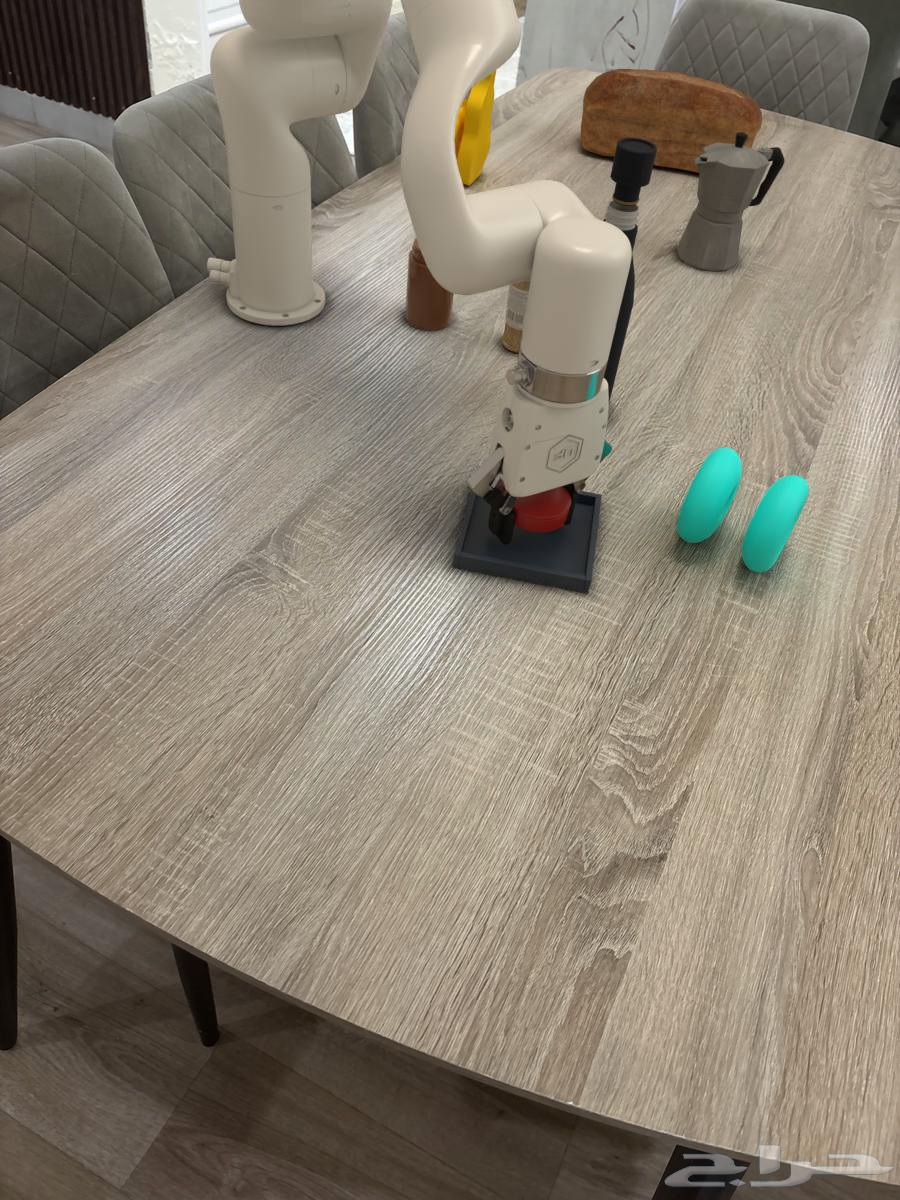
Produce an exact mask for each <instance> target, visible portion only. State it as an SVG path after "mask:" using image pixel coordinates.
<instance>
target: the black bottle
mask: <svg viewBox="0 0 900 1200" xmlns="http://www.w3.org/2000/svg"><path fill="white" fill-rule="evenodd" d="M656 152H657V147H656V146H655V145H654V144H653V143H652V142H649V141H647V140H644V139H639V138H623V139H620V140H619V141H618V142H617V146H616V151H615V156H614V157H613V161H612V167H611V170H610V179H611V181H613V182H614V183H615V185H614V186H615V187H614V191H613V194H612V197H611V198H612V200H610V201H609V202H608V206H606V210H605V211H606V213H605V214H604V219H603V220H602V221H605V222H608V223H610V224H612V225H614V226H616V227H617V228H619V229H620V230H621V231H622V232H623V233H624V234H625V235H626V236H627V238H628V239H629V242H630V244H631V249H632V257H631V263H630V269H629V273H628V277H627V281H626V285H625V290H624V294H623V298H622V302H621V306H620V311H619V315H618V319H617V324H616V328H615V332H614V336H613V340H612V344H611V349H610V353H609V357H608V362H607V366H606V370H605V374H604V379H605V380H606V381H607V383H608V394H609V403H610V402H611V398H612V394H613V390H614V386H615V381H616V378H617V373H618V370H619V369H618V368H619V365H620V361H621V356H622V353H623V348H624V344H625V340H626V336H627V332H628V327H629V324H630V319H631V315H632V311H633V308H634V303H635V302H634V301H635V284H636V274H635V263H634V254H633V252H634V248H635V244H636V239H637V235H638V230H639V227H638V225H637V223H638V220H639V218H638V217H639V216H640V211H639V209H640V207H639V205H638V204H639V202H640V195H641V194H640V193H641V189H642V188H644V187H646V186H648V185H649V184H650V181H651V177H652V174H653V173H652V172H653V170H654V169H653V168H654V166H655V165H654V161H655V156H656Z"/></svg>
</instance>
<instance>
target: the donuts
mask: <svg viewBox="0 0 900 1200" xmlns="http://www.w3.org/2000/svg"><path fill="white" fill-rule="evenodd" d="M742 463H743V462H742V460H741V457H740V455H739V454H738V453H737V452H736V450H735V449H732V448H731V447H727V446H723V447H718V448H716V449H714V450H712V451H711V452H710V453H709V454H708V455H707V457H706V458H705V460H704V461H703V462H702V463H701V465H700V467H699V469H698V471H697V472H696V473H695V476H694V477H693V479H692V481H691V484H690V486H689V488H688V490H687V492H686V494H685V497H684V499H683V502H682V504H681V507H680V510H679V513H678V517H677V520H676V521H677V522H676V531H677V533H678V536H679V537H680V538H681V539H682V540H683V541H685V542H687V543H691V544H697V543H701V542H703V541H705V540H707V539H708V538H710V537H711V536H712V535H713V534H714V533H715V532H716V531H717V530H718V528H719V527H720V526H721V524H722V522H723V521H724V519H725V517H726V516H727V513H728V512H729V510H730V508H731V505H732V503H733V501H734V499H735V496H736V494H737V492H738V490H739V487H740V484H741V480H742V475H743V464H742ZM809 494H810V487H809V483H808V482H807V480H806V479H804V478H803V476H800V475H797V474H789V475H784V476H782V477H780V478H779V479H777V480H775V481H774V483H772V484H771V485H770V486H769V488H768V489H767V490H766V491H765V493H764V495H763V496H762V498H761V500H760V502H759V503H758V505H757V507H756V509H755V511H754V512H753V515H752V517H751V519H750V521H749V523H748V526H747V528H746V531H745V533H744V536H743V538H742V539H743V540H742V544H741V557H742V560H743V563H744V565H745V567H746V568H748V569H749V570H750V571H752V572H755V573H764V572H767V571H769V570H770V569H772V568H773V567H774V565H775V563H776V562H777V561H778V559H779V557H780V555H781V553H782V551H783V550H784V548H785V546H786V544H787V542H788V540H789V538H790V537H791V535H792V532H793V530H794V529H795V526H796V525H797V522H798V520H799V518H800V516H801V513H802V511H803V510H804V507H805V505H806V502H807V500H808V498H809Z"/></svg>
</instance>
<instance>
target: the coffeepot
mask: <svg viewBox="0 0 900 1200" xmlns="http://www.w3.org/2000/svg"><path fill="white" fill-rule="evenodd" d="M747 137H748V135H747V134H746V133H743V132H738V133H736V140H735V144H728V143H715V144H712V145H709V146H707V147H704V148H703V152H702V155H700V156H698V157H697V158H696V159H695V164H696V165H697V166H698V169H699V172H700V173H699V175H698V182H697V183H698V184H697V191H696V196H697V200H698V202H697V206H696V208H695V209H694V210H693V211H692V214H691V216H690V218H689V219H688V222H687V224H686V227H685V229H684V231H683V234H682V236H681V238H680V240H679V242H678V245H677V246H676V251H677V256H678V258H679V259H680V260H681V261H682V262H683V263H685V264H687V265H688V266H690V267H692V268H695V269H698V270H701V271H702V270H703V271H708V272H724V271H728V270H730V269H732V268H733V267H734V266H735V265H737V264H738V259H739V252H740V246H741V245H740V244H741V238H742V230H743V215H744V211H745V210H746V209H748V208H749V207H756V206H759V205H760V204H761V203H762V202H763V200H764V198H765V197H766V196H767V194H768V192H769V190H770V189H771V187H772V185H773V184H774V182H775V180H776V178H777V177H778V175H779V174H780V172H781V170H782V168H783V167H784V165H785V160H786V159H785V156H784V153H783V151H782V149H781V147H779V146H775V147H758V148H757V149H754V148H749V147H746V146H744V143H745V141H746V139H747ZM770 162H771V165H770ZM769 165H770V166H769ZM768 167H769V168H768ZM767 169H768V170H767ZM766 172H767V173H766ZM765 173H766V176H765ZM764 176H765V178H764V179H763V177H764ZM762 180H763V181H762ZM756 192H757V194H756ZM755 194H756V196H755Z"/></svg>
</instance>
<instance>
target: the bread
mask: <svg viewBox="0 0 900 1200" xmlns="http://www.w3.org/2000/svg"><path fill="white" fill-rule="evenodd" d="M582 100H583V102H582V115H581V122H580V138H579V139H580V140H579V141H580V142H579V143H580V144H581V146H582V148H583V150H585V151H588V152H590V153H593V154H596V155H598V156H599V155H600V156H603V157H610V158H614V156H615V151H616V146H617V142H618V141H619V140H620V139H623V138H639V139H644V140H647V141H649V142H652V143H653V144H654V145H655V146H656V147H657V152H656V156H655V161H654V165H653V166H658V167H665V168H671V169H677V170H678V169H679V170H684V171H689V172H694V173H697V174H700V172H699V169H698V166H697V165H696V164H695V159H696V158H697V157H698V156H700V155H702V152H703V148H704V147H707V146H709V145H712V144H715V143H728V144H735V140H736V133H738V132H743V133H746V134H747V135H748V137H747V139H746V141H745V143H744V146H746V147H749V148H751V149H753V145H754V142H755V140H756V137H757V134H758V133H759V132H760V131H761V129H762V124H763V114H762V110H761V108H760V106H759V104H758V103H757V102H756V100H754V99H753V98H751V96H749V95H748V94H746V93H744V92H742V91H740V90H739V89H736V88H734V87H732V86H730V85H726V84H724V83H720V82H717V81H715V80H711V79H707V78H703V77H699V76H695V75H692V74H688V73H685V72H678V71H673V70H672V71H671V70H659V69H658V70H657V69H655V70H654V69H645V68H644V69H643V68H641V69H638V68H636V69H633V68H616V69H610V70H608V71H606V72H603V73H601V74H599V75H597V76H596V77H595V78H594V79H592V81H591V82H590V83H589V84H588V86H587V87H586V89H585V91H584V94H583V99H582Z"/></svg>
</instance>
